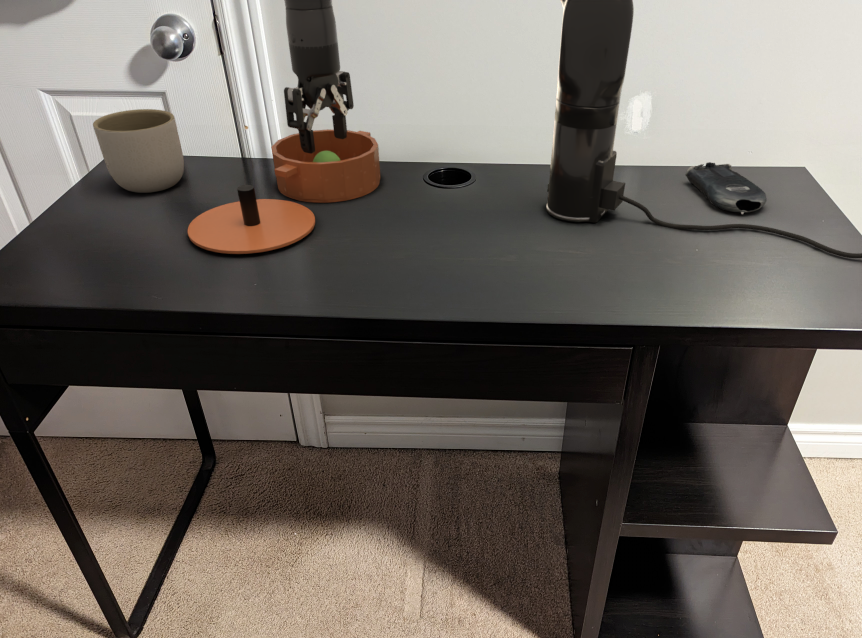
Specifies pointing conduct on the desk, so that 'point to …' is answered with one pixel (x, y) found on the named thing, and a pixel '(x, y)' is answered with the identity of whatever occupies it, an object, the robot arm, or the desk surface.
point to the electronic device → (726, 187)
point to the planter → (141, 149)
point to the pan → (327, 167)
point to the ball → (326, 157)
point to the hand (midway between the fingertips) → (325, 145)
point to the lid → (251, 224)
